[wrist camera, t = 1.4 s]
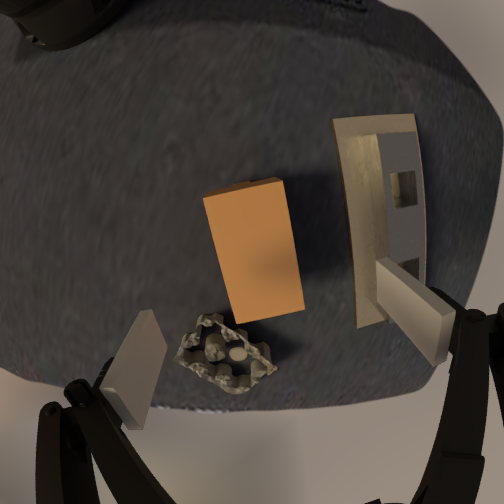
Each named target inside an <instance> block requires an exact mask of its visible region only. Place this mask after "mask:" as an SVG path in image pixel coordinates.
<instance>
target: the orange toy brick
mask: <svg viewBox="0 0 504 504" xmlns="http://www.w3.org/2000/svg"><path fill="white" fill-rule="evenodd" d="M203 200H204V205H205V209H206V213H207V216H208V220H209V224H210V228H211V232H212V236H213V240H214V244H215V248H216V251H217V255H218V259H219V263H220V266H221V270H222V274H223V277H224V281H225V285H226V288H227V292H228V296H229V299H230V303H231V306H232V310H233V313H234V317H235V320H236V324H240V323H245V322H250V321H255V320H259V319H264V318H269V317H273V316H278V315H282V314H287V313H291V312H295V311H300V310H304V309H305V307H304V301H303V294H302V288H301V281H300V275H299V269H298V263H297V257H296V251H295V245H294V239H293V233H292V228H291V222H290V217H289V211H288V206H287V201H286V196H285V190H284V185H283V181H282V180H280V179H278V178H276V177H273V178H268V179H263V180H259V181H254V182H250V181H245V182H241V183H236V184H233V186H231V187H227V188H222V189H218V190H214V191H210V192H208V193H207V194H206V195H205V196H204V198H203Z"/></svg>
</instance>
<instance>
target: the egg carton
mask: <svg viewBox="0 0 504 504" xmlns="http://www.w3.org/2000/svg"><path fill="white" fill-rule="evenodd" d="M223 319H224V317H223V316H221V315H220V314H218V313H215V314H213V315H210V316H209V315H204V314H202V315H201V316H200V317H199V318H198V321H197V325H196V330H195V333H194V334H189V333H186V334H185V335H184V336H183V338H182V342H181V346H180V348H179V350H178V352H177V354H176V356H175V358H174V360H173V361H174V362H176V363H179V364H181V365H183V366H185V367H189V368H190V369H192V371H193V372H194V371H195V372H197V374H198V375H199V376H200V377H202V378H205V379H207V380H208V381H210V382H211V383H214V384H216V385H218V386H219V387H221V388H222V389H223V390H225V391H226V392H228V393H230V394H241V393H245V392H246V391H247V390H249V389H251V387H252V386H253V385H254V384H256V383H258V382H259V381H260V378H261V377H262V376H263V375H264V374H265V373H267V375H270V374H271V373H272V372H274V370H275V371H278V370H279V367H276V366H275V365H272V361H271V356H270V348H269V346H268V344H267V343H265V342H263V341H262V342H260V343H257V344H253V343H250V342H248V336H247V331H244V330H242V329H240V328H239V329H237V330H231V329H229V328H227V327H226V326H224V325H223ZM214 323H217V324H219V325H220V326H221V327H222V330H221V334H222V335H223V336H222V335H221V334H218V333H212V334H210V335H208V337H207V338H206V344H205V352H204V351H201V350H198V351H194V352H190V351H188V350H186V348H190V347H191V346H193V345H198V344H199V343H200V335H201V330H202V325H204V326H206V327H208V326H212V325H213V324H214ZM201 324H202V325H201ZM240 338H241V339H242V340H243V341H244V342H245V348H242V347H234V348H232V349H231V350H230V353H229V355H230V357H231V358H232V359H233V360H235V361H242V360H244V359H245V358H246V357H247V355H248V354H250V355H251V357H252V358H256V359H257V360H255V361H253V362H252V364H251V374H250V375H239V376H238V377H235V376H233V375H232V368H231V367H230V366H229V365H228V364H224V363H220V364H217V365H213V364H211V363H209V361H211V362H214V361H219V360H221V359H223V358H225V356H226V353H225V341H226V342H230V341H231V340H238V339H240Z"/></svg>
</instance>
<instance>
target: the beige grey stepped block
mask: <svg viewBox="0 0 504 504" xmlns="http://www.w3.org/2000/svg"><path fill="white" fill-rule="evenodd" d="M330 122H331V126H332V131H333V136H334V141H335V147H336V152H337V158H338V163H339V169H340V175H341V182H342V188H343V195H344V202H345V210H346V218H347V226H348V235H349V244H350V255H351V266H352V279H353V295H354V315H355V326H356V328H360V327H363V326H367V325H370V324H373V323H376V322H380V321H383V320H386V321H387V322H388V323H389V324H391V323H394V322H395V321H394V320H393V319H392V318H391V317H390V315H389V314H388V313H387V312H386V311H385V310H384V309H383V308H382V306H381V305H380V304H379V303H378V302H377V278H376V260H378V259H382V258H386V257H387V258H389V259H390V260H391V261H393V262H394V263H396V264H397V265H398V266H400V267H401V268H402V269H404V270H405V271H406V272H408V273H409V274H410V275H412V276H413V277H414V278H416V279H417V280H418V281H419V282H421V283H422V284H423V285H425V279H426V209H425V193H424V181H423V171H422V162H421V154H420V147H419V140H418V134H417V128H416V122H415V117H414V114H393V115H374V116H361V117H349V118H339V119H332V120H330Z"/></svg>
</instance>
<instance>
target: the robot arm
mask: <svg viewBox="0 0 504 504" xmlns="http://www.w3.org/2000/svg"><path fill="white" fill-rule="evenodd" d="M126 2H127V0H0V13H1V14H4V15H6V16H8V17H10V18H12V19H13V21H14V22H15V24H16V25H17V27H18V28H19V30H20V31H21V32H22V34H23V35H24V37H25V38H26V40H27V41H28V42H29V43H31V44H32V45H34V46H36V47H38V48H41V49H43V50H46V51H59V50H64V49H67V48H70V47H73V46H75V45H77V44H79V43H81V42H83V41H85V40H86V39H88V38H90V37H91V36H93V35H94V34H95V33H97V32H98V31H99V30H101V29H102V28H103V27H104V26H105V25H107V24H108V23H109V22H110V21H111V20H112V19H113V18H114V17H115V16H116V15H117V14H118V12H119V11H120V10H121V9H122V8H123V6H124V5H125V3H126ZM376 278H377V302H378V303H379V304H380V305H381V306H382V308H383V309H384V310H385V311H386V312H387V313H388V314H389V315H390V317H391V318H392V319H393V320H394V321H395V322H396V323H397V325H398V326H399V327H400V328H401V329H402V330H403V331H404V333H405V334H406V335H407V336H408V337H409V338H410V340H411V341H412V342H413V343H414V344H415V345H416V347H417V348H418V349H419V350H420V351H421V353H422V354H423V355H424V356H425V357H426V359H427V360H428V361H429V362H430V364H431V365H432V366H433V367H434V366H437V365H439V364H441V363H443V362H445V361H446V359H447V355H448V351H450V353H451V354H452V355H453V358H452V362H451V365H450V369H449V373H450V376H449V381H448V387H447V392H446V397H445V402H444V406H443V411H442V415H441V420H440V423H439V427H438V431H437V435H436V438H435V441H434V445H433V448H432V451H431V454H430V457H429V461H428V463H427V467H426V469H425V472H424V475H423V477H422V480H421V483H420V485H419V487H418V490H417V491H416V493H415V495H414V497H413V499H412V501H411V503H410V504H475V500H476V497H477V493H478V490H479V486H480V481H481V477H482V473H483V469H484V463H485V458H484V456H481V451H482V445H483V438H484V432H485V425H486V416H487V405H488V391H489V365H490V368H491V372H492V375H493V379H494V383H495V387H496V391H497V396H498V400H499V405H500V409H501V415H502V420H503V426H504V303H502V304H500V305H499V307H498V311H497V314H492V315H487V316H486V314H485V313H484V312H482V311H480V310H477V309H468V310H466V309H465V308H464V307H462V306H461V305H460V304H458V303H457V302H456V301H455V300H453V299H451V297H449V296H448V295H447V294H446V293H444V292H443V291H442V290H440V289H437V288H434V287H430V288H427V287H426V286H425V285H423V284H422V283H421V282H419V281H418V280H417V279H416V278H414V277H413V276H412V275H410V274H409V273H408V272H406V271H405V270H404V269H402V268H401V267H400V266H398V265H397V264H396V263H394V262H393V261H391V260H390V259H389V258H387V257H386V258H382V259H378V260H376ZM166 350H167V345H166V342H165V340H164V338H163V335H162V333H161V331H160V328H159V326H158V324H157V321H156V319H155V316H154V314H153V311H152V309H150V310H144V311H140V312H139V314H138V316H137V318H136V319H135V321H134V323H133V325H132V327H131V328H130V330H129V332H128V334H127V336H126V338H125V339H124V341H123V343H122V345H121V347H120V349H119V350H118V352H117V354H116V356H115V357H111V358H110V359H109V360H108V361H107V362H106V363H105V364H104V366H103V368H102V370H101V371H102V372H100V374H99V377H97V379H96V381H95V383H94V385H93V387H92V388H91V386H90V385H89V383H88V382H87V381H86V380H85V379H77V380H74V381H72V382H71V383H69V384H68V385H67V386H66V387H65V389H64V396H65V397H66V398H67V400H68V401H69V403H70V404H71V405H72V407H68V408H62V406H61V405H60V404H59V403H58V402H55V401H54V402H49V403H47V404H46V405H44V406H43V408H42V409H41V410H40V414H39V422H38V432H37V446H36V473H35V475H36V476H35V477H36V479H35V480H36V504H100V500H99V496H98V491H97V486H96V481H95V475H94V470H93V463H92V456H91V453H92V455H93V457H94V459H95V462H96V464H97V466H98V468H99V470H100V472H101V474H102V476H103V478H104V480H105V481H106V484H107V485H108V487H109V489H110V491H111V493H112V494H113V496H114V498H115V500H116V501H117V503H118V504H176V503H175V502H174V500H173V499H172V498H171V497H170V496H169V494H168V493H167V492H166V491H165V490H164V488H163V487H162V486H161V485H160V483H159V482H158V481H157V479H156V478H155V477H154V476H153V474H152V473H151V472H150V470H149V469H148V467H147V466H146V465H145V463H144V462H143V461H142V459H141V458H140V456H139V455H138V453H137V452H136V451H135V449H134V447H133V446H132V445H131V443H130V441H129V440H128V438H127V437H126V435H125V433H124V432H123V431H122V430H121V425H122V422H123V423H124V424H125V426H126V427H127V428H128V430H143V427H144V424H145V420H146V417H147V413H148V410H149V406H150V403H151V399H152V396H153V393H154V389H155V386H156V383H157V379H158V376H159V373H160V369H161V366H162V363H163V360H164V357H165V354H166ZM365 504H381V502H380V499H376V500H374V501H371V502H368V503H365ZM385 504H403V503H385Z"/></svg>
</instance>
